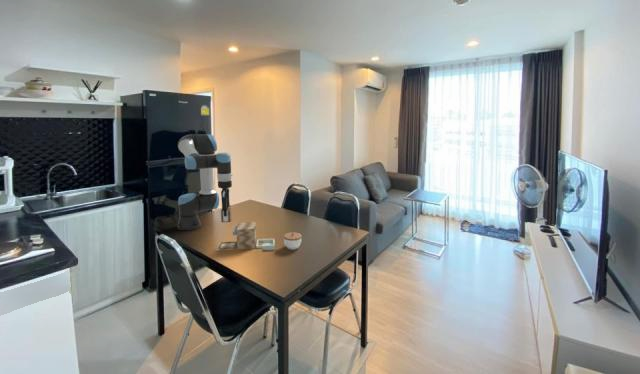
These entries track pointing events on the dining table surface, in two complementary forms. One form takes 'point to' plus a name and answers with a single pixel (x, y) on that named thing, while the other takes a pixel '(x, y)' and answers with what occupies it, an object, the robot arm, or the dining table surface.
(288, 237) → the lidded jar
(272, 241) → the tray
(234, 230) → the slide cover
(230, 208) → the treat block
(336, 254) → the dining table surface
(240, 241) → the brown patterned stepped stand
